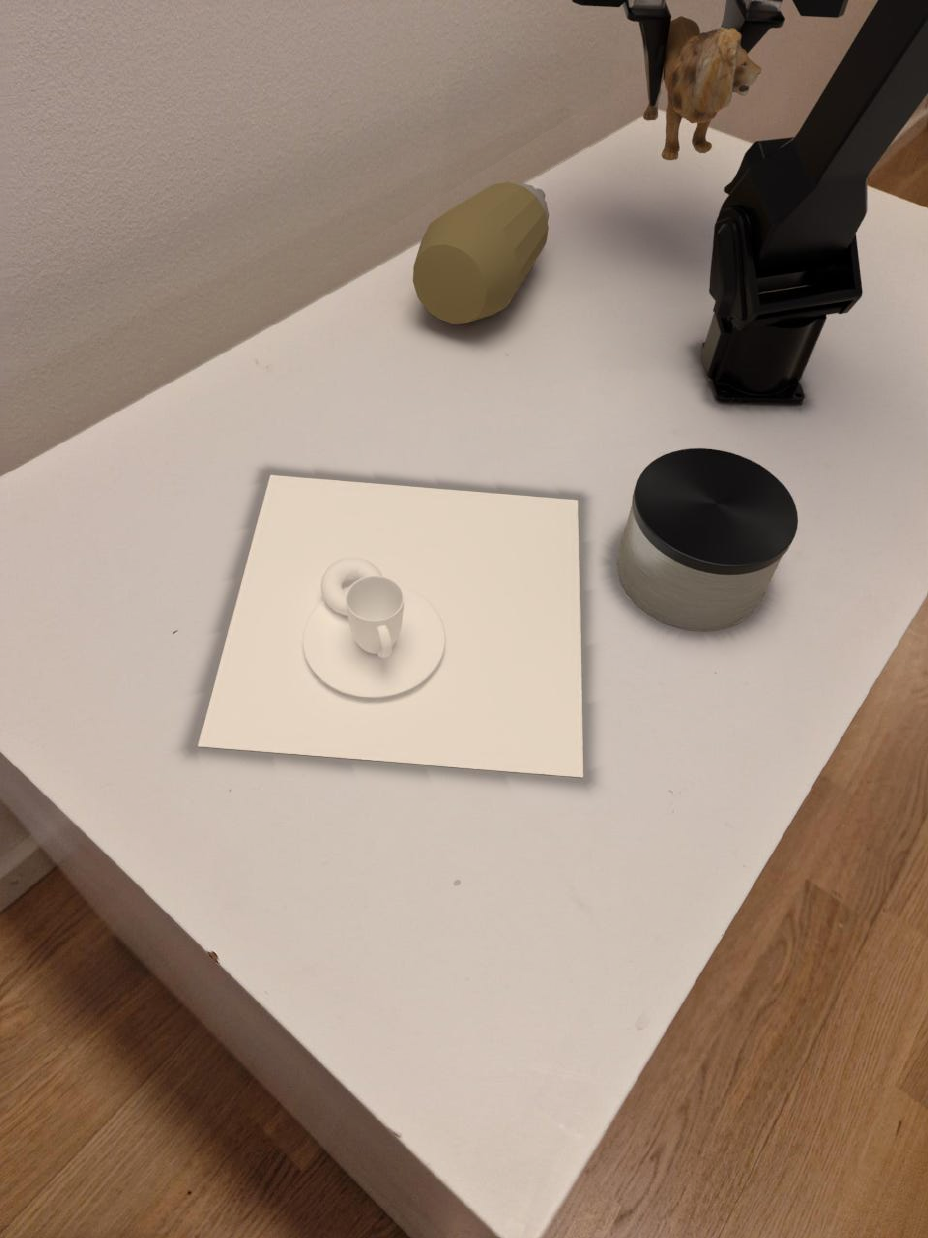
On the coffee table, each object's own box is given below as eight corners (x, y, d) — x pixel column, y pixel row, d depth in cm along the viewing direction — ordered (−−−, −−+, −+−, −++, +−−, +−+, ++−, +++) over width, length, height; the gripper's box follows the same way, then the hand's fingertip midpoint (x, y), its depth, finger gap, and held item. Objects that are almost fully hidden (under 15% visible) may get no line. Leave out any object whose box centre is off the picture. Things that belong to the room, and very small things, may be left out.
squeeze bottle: (481, 358, 69) (564, 260, 81) (514, 263, 63) (599, 171, 74) (387, 307, 70) (483, 217, 81) (411, 208, 63) (511, 125, 75)
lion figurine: (748, 173, 67) (776, 36, 60) (678, 185, 66) (698, 48, 59) (676, 85, 76) (693, -44, 68) (614, 95, 75) (624, -35, 68)
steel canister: (747, 518, 60) (776, 448, 55) (780, 633, 55) (817, 567, 50) (606, 516, 59) (624, 445, 55) (626, 632, 54) (648, 565, 49)
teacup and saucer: (317, 571, 55) (312, 525, 52) (450, 582, 55) (453, 536, 52) (292, 696, 50) (284, 652, 47) (439, 708, 50) (442, 665, 47)
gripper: (846, -183, 63) (774, 64, 76) (575, -200, 62) (547, 54, 75) (896, -135, 57) (808, 129, 69) (592, -152, 56) (558, 118, 68)
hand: (677, 104), depth 70 cm, fingers closed on lion figurine, 4 cm apart
